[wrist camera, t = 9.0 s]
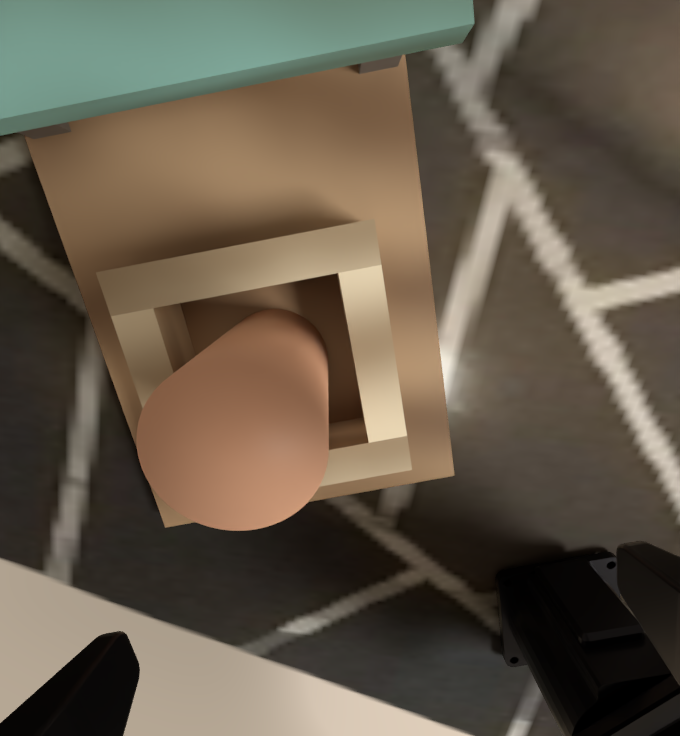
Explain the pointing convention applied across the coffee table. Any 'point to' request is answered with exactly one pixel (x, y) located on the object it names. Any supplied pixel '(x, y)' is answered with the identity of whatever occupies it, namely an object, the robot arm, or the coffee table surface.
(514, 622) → the robot arm
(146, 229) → the socket board
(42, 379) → the coffee table surface
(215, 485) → the peg
